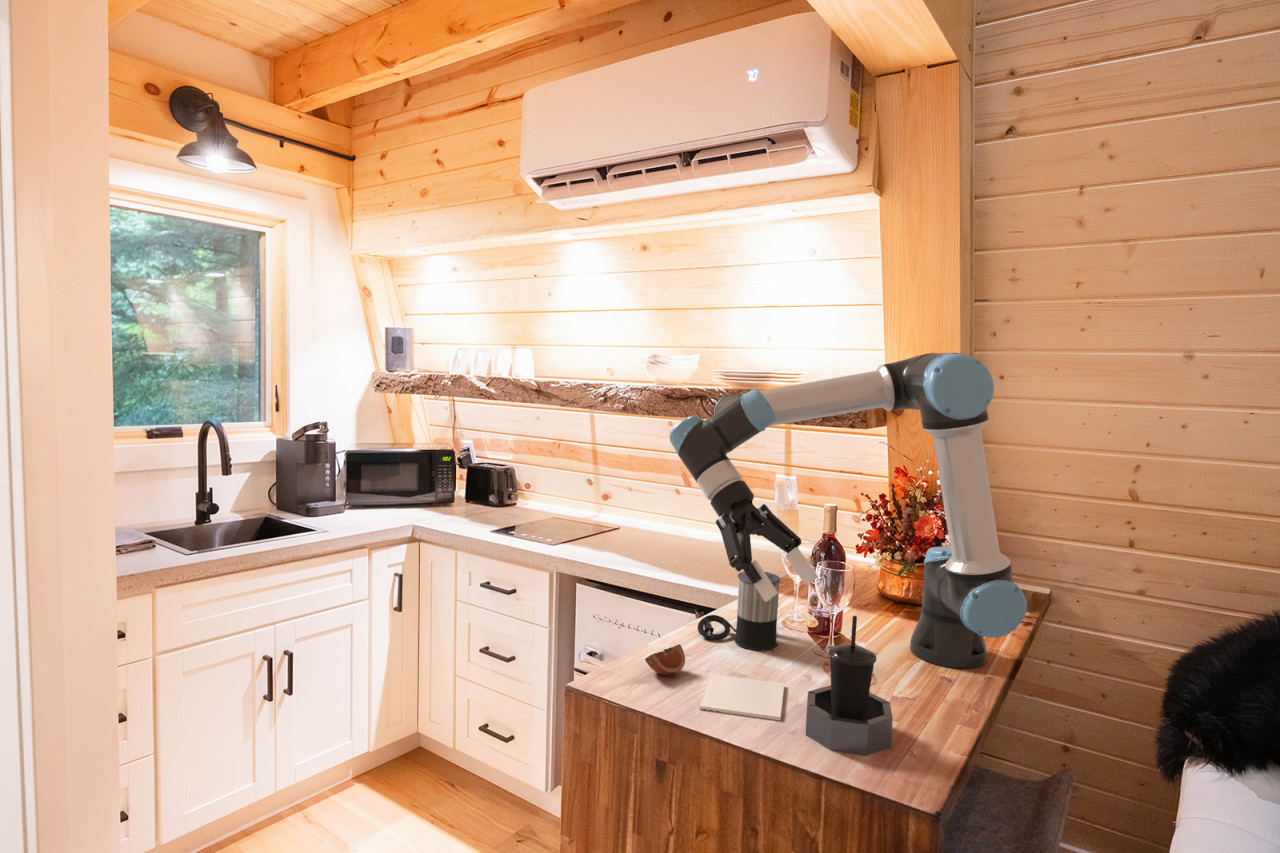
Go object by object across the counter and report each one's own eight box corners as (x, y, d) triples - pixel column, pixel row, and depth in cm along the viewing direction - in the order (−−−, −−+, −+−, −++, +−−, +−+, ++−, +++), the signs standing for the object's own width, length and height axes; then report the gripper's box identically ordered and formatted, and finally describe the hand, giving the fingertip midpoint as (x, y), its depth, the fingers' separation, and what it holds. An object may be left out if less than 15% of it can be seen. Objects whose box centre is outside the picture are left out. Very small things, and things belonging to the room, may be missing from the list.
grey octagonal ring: (885, 720, 134) (887, 692, 133) (892, 759, 121) (895, 728, 120) (806, 709, 137) (808, 682, 136) (805, 746, 124) (806, 716, 123)
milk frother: (784, 649, 164) (788, 581, 163) (715, 655, 160) (719, 585, 158) (756, 626, 178) (759, 563, 176) (691, 631, 173) (694, 566, 172)
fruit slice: (660, 685, 145) (661, 659, 144) (636, 673, 150) (636, 648, 149) (691, 673, 150) (692, 648, 150) (666, 662, 155) (667, 638, 155)
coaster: (784, 686, 146) (784, 683, 146) (780, 720, 132) (780, 717, 132) (710, 676, 149) (710, 673, 149) (699, 709, 135) (699, 705, 135)
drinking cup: (820, 738, 127) (827, 619, 125) (827, 718, 134) (834, 605, 132) (868, 748, 124) (876, 627, 122) (873, 727, 131) (881, 613, 129)
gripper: (750, 494, 154) (813, 586, 145) (671, 511, 135) (738, 616, 127) (775, 472, 150) (841, 564, 141) (697, 485, 131) (768, 593, 123)
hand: (792, 589), depth 134 cm, fingers open, 13 cm apart
